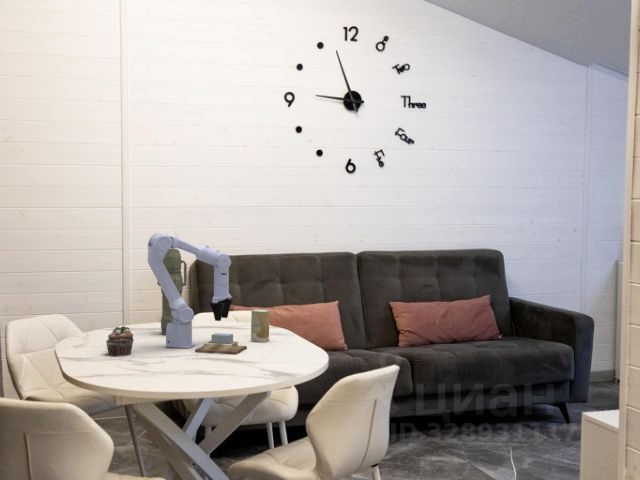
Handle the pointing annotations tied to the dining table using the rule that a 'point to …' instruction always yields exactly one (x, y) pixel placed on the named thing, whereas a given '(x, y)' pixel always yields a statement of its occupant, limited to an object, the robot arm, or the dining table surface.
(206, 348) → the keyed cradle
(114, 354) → the cupcake
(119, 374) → the dining table surface
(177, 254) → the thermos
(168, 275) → the robot arm
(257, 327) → the skincare box
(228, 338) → the key block
